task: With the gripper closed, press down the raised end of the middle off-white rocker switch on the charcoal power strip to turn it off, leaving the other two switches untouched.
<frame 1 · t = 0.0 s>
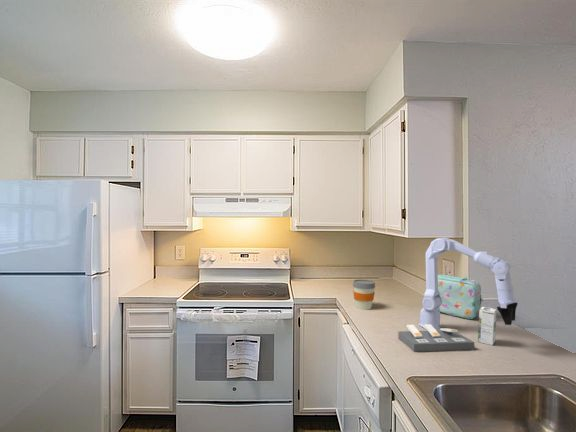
hand: (510, 322, 139), 11 cm above the countertop, tool pointing down, fingers open, 7 cm apart
rocker middle: (431, 330, 145), point 5 cm above the countertop, hinge at 15.0°
power strip: (434, 343, 142), on the countertop
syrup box: (486, 342, 145), on the countertop
rocker b: (449, 330, 146), point 5 cm above the countertop, hinge at -15.0°
rocker a: (414, 331, 144), point 5 cm above the countertop, hinge at 15.0°
lunch box: (454, 314, 184), on the countertop
reusable coffee cup: (363, 307, 194), on the countertop
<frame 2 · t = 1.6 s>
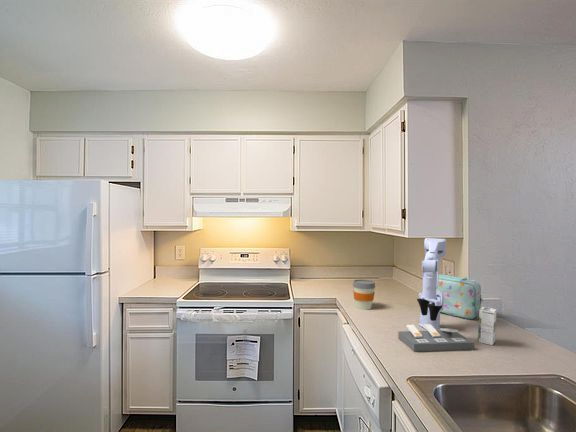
hand: (428, 317, 147), 9 cm above the countertop, tool pointing down, fingers open, 7 cm apart
nothing on the countertop moved.
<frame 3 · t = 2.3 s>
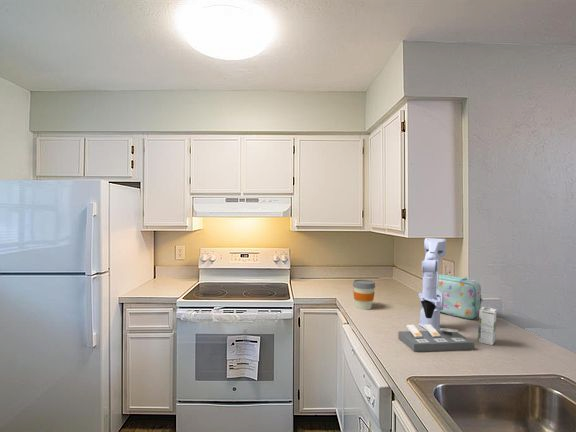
hand: (428, 317, 147), 9 cm above the countertop, tool pointing down, fingers closed
nothing on the countertop moved.
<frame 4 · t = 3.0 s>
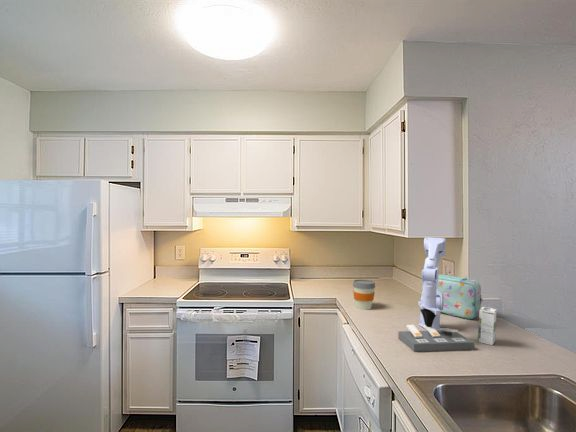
hand: (428, 326, 147), 6 cm above the countertop, tool pointing down, fingers closed, pressing on rocker middle
rocker middle: (431, 330, 145), point 5 cm above the countertop, hinge at 15.0°, touching gripper
everything else where it was.
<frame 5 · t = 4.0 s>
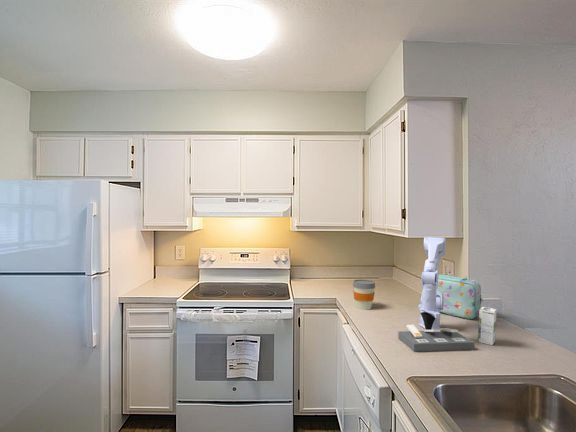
hand: (428, 329, 147), 4 cm above the countertop, tool pointing down, fingers closed
rocker middle: (431, 330, 145), point 5 cm above the countertop, hinge at -19.3°, touching gripper
everything else where it was.
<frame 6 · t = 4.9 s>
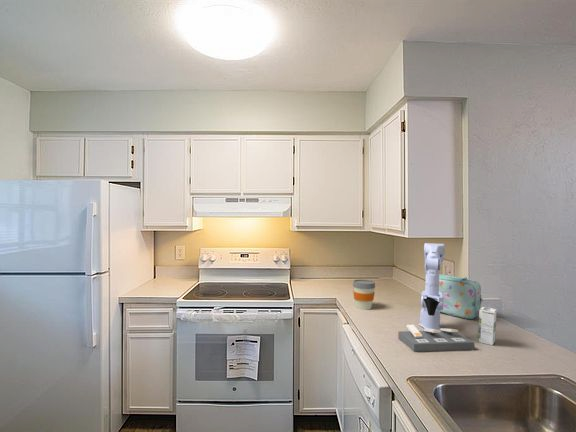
hand: (431, 315, 151), 9 cm above the countertop, tool pointing down, fingers closed
rocker middle: (431, 330, 145), point 5 cm above the countertop, hinge at -14.5°
everything else where it was.
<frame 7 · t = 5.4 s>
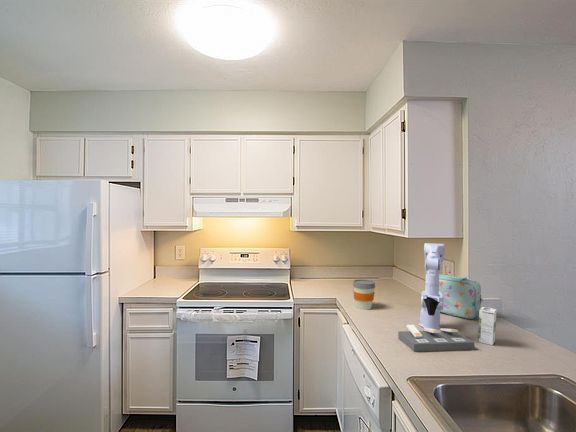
hand: (431, 315, 151), 9 cm above the countertop, tool pointing down, fingers closed
rocker middle: (431, 330, 145), point 5 cm above the countertop, hinge at -12.4°
everything else where it was.
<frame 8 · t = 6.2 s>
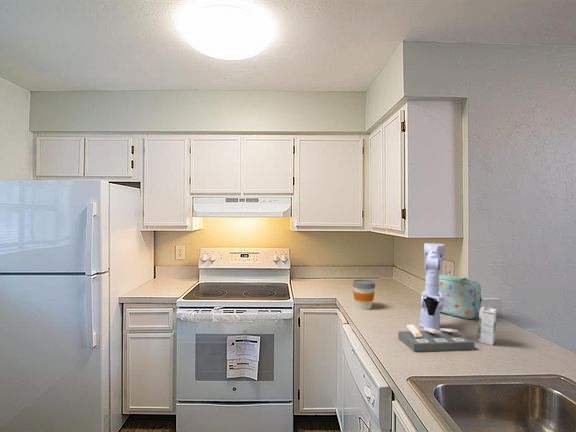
hand: (431, 315, 151), 9 cm above the countertop, tool pointing down, fingers closed
rocker middle: (431, 330, 145), point 5 cm above the countertop, hinge at -10.2°
everything else where it was.
at the end: rocker middle at -10° (first picture: +15°); rocker a at +15° (first picture: +15°); rocker b at -15° (first picture: -15°) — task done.
